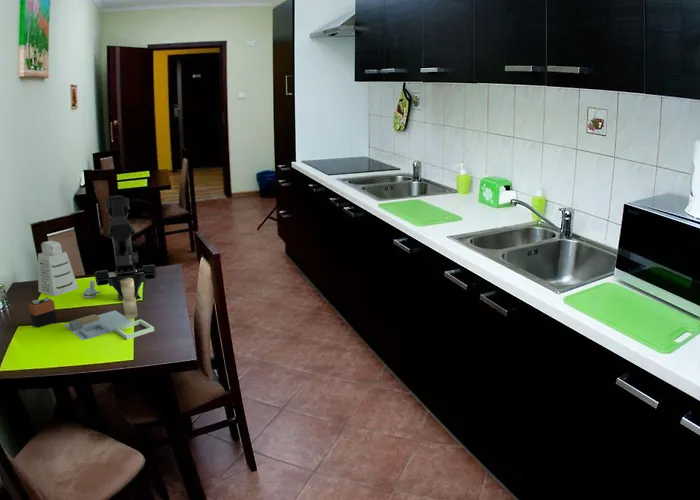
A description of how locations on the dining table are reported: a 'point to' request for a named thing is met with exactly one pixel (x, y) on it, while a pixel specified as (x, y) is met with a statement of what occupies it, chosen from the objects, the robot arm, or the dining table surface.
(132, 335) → the tray
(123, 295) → the dowel
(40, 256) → the grater
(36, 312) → the battery
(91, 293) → the pacifier
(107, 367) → the dining table surface
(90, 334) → the board
